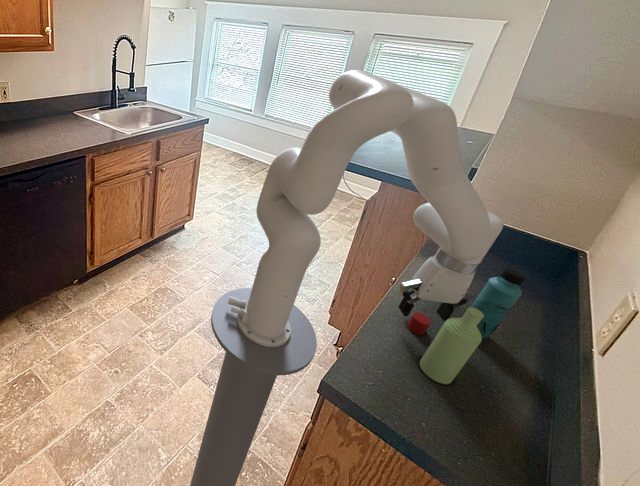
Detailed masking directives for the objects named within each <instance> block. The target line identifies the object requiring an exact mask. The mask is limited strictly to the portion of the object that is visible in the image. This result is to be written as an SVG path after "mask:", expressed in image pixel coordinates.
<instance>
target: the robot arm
mask: <svg viewBox="0 0 640 486" xmlns="http://www.w3.org/2000/svg"><path fill="white" fill-rule="evenodd" d="M328 90H329V91H328V100H329V103H330V105H331V107H332V108H333V110H332V111H330V112H329V113H327V114H326V115H323V116H322V118H320V119H319V120H318V121H316V123H315V124H314V125H313V126H312V127H311V129H310V130H309V132H308V134H307V135H306V137H305V140H304V142H303V145H302V146H301V147H289V148H287V149H285V150H283V151H282V152H280V153H279V154H278V155H276V157H274V159H273V160H272V162H271V164H270V165H269V167H268V170H267V173H266V176H265V180H264V182H263V185H262V188H261V192H260V194H259V197H258V201H257V205H256V217H257V220H258V222H259V224H260V226H261V228H262V230H263V232H264V235H265V237H266V238H267V240H268V248H267V250H266V251H265V252H263V254H262V255H261V258H260V259H259V262H258V266H257V268H256V272H255V277H254V279H253V284H252V287H251V288H252V290H251V294H250V297H248V299H247V301H246V300H243V301H241V300H238V299H237V298H234V297H231V296H230V297H229V301H228V304H230V305H233V306H232V308H231V312H234V313H238V316H237V323H238V326H239V328H240V330H241V331H242V333H243V334H244V335H245V336H246V337H247V338H248V339H250V340H251V341H253V342H255V343H256V344H259V345H262V346H266V347H278V346H281V345H283V344H285V343H286V342H287V341H288V339H289V337H290V334H291V326H290V323H289V321H288V319H289V316H290V313H291V310H292V307H293V305H295V302H296V300H297V296H298V294H299V291H300V289H301V285H302V282H303V279H304V277H305V274H306V273H307V270H308V268H309V266H310V264H311V263H312V261H313V260H314V258H315V257H316V256H317V254H318V252H319V250H320V248H321V243H322V242H321V241H322V240H321V234H320V232H319V229H318V227H317V225H316V223H315V222H314V220H313V219H311V216H313V215H314V216H315V215H319V214H321V213H323V212H324V211H326V209H327V208H328V207H329V206H330V204H331V202H332V201H333V199H334V197H335V195H336V192H337V190H338V188H339V186H340V183H341V181H342V179H343V176H344V175H345V173H346V169H347V168H348V165H349V163H350V162H351V159H352V158H353V156H354V155H355V153H356V152H357V150H358V149H359V148H361V147H362V146H363V145H364V144H366V143H367V142H369V141H370V140H372V139H375V138H377V137H379V136H381V135H385V134H387V133H390V132H391V133H393V134H394V135H397V137H399V138H400V140H401V144H402V149H403V153H404V157H405V161H406V167H407V172H408V176H409V179H410V182H411V183H412V185H413V186H414V187H415V189H416V190H417V191H418V193H419V194H420V195H421V196H422V197H423V199H425V200H426V201H427V202H426V203H423V204H421V205H419V206H418V207H417V208H416V209H415V211H414V213H413V216H412V217H413V218H412V219H413V223H414V224H415V226H416V228H418V230H419V231H421V232H422V233H423V234H424V235H425V236H427V238H429V240H431V241H433V242H434V243H435V244H436V245H437V246H438V247H439V248H438V249H437V251H436V252H435V254H434V256H433V255H432V256H430V257H428V258H427V260H425V261H424V262H423V264H422V265H421V266H420V267H419V268H418V269H417V271H416V273H415V274H414V276H413V277H412V278H411V280H408V281H403V282H400V283H399V291H400V293H401V295H402V296H403V298H402V299H401V301H400V303H399V305H398V309H399V310H400V312H401V313H402V315H403V316H404V317H409V316H410V313H411V312H412V311H413V309H414V308H415V304H414V303H416V302H418V301H422V300H423V301H427V302H428V301H430V302H434V303H435V302H436V303H440V305H439V307H438V308H437V309H436V311H435V312H436V313H437V315H438V316H439V317H440V318H441V320H442V321H443V322H445V321H446V320H447V319H450V318H451V316H452V315H453V313H454V312H455V310H459V309H460V307H461V306H464V305H465V304H467V303H468V302H469V301H470V300H471V299H473V298H475V296H476V295H475V294H474V293H473V292H472V291H471V290H469V288H470V286H471V284H472V282H473V280H474V276H475V275H476V274H475V273H476V270H477V268H478V267H479V265H481V264H482V263H483V259H484V257H485V256H486V255H487V253H488V252H489V250H490V249H491V247H492V246H493V244H494V243H495V241H496V239H497V238H498V237H499V235H500V234H501V232H502V231H503V228H504V223H503V220H501V218H500V217H499V216H498V215H496V214H494V213H492V212H490V211H488V210H487V208H486V206H485V204H484V202H483V200H482V199H481V197H480V196H479V193H478V192H477V190H476V189H475V187H474V185H473V183H472V181H471V180H470V178H469V176H467V174H466V172H465V171H464V170H465V169H464V167H463V161H462V153H461V144H460V135H459V129H458V122H457V121H458V120H457V117H456V113H455V111H454V110H453V108H452V107H451V106H450V105H449V104H447V103H445V102H444V101H441V100H440V99H437V98H434V97H432V96H430V95H426V94H425V93H421V92H419V91H416V90H414V89H412V88H411V89H410V88H408V87H405V86H402V85H400V84H398V83H396V82H394V81H391V80H389V79H386V78H384V77H381V76H378V75H375V74H373V73H370V72H368V71H365V70H361V69H351V70H348V71H345V72H343V73H340V75H338V76H337V77H336V78H335V79H334V80H333V81H332V83H331V85H330V87H329V89H328ZM309 215H310V216H309ZM414 294H415V295H414ZM412 295H413V296H412ZM411 296H412V297H411ZM234 306H237V307H240V309H239V308H237V307H234Z"/></svg>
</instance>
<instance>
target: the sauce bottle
mask: <svg viewBox="0 0 640 486" xmlns="http://www.w3.org/2000/svg"><path fill="white" fill-rule="evenodd" d="M483 317H484V314H483V313H482V312H481V311H480V310H478V309H476V308H473V307H471V306H469V307H467V308H466V311H465V312H464V314H463V315H462V316H461V317H449V319H447V320H446V321H444V323H443V325H442V326H441V327H440V328H439V330H438V331H437V334H436V335H435V336H434V339H433V340H432V341H431V343H430V344H429V346H428V347H427V350H426V351H425V352H424V354H423V356H422V357H421V359H420V360H419V367H420V369H421V371H423V373H424V374H425V375H426V376H427V377H428V378H430V379H431V380H433V381H434V382H436V383H439V384H443V385H449V384H452V382H453V381H454V380H455V378H456V377H457V375H459V373H460V371H461V370H462V369H463V367H464V366H465V365H466V363H467V362H468V360H469V359H470V357H471V356H472V355H473V354H474V352H475V351H476V349H477V348H478V347H479V346H480V345H481V343H482V340H483V337H482V336H481V333H480V331H479V329H478V328H477V325H478V323H479V322H480V321H481V319H483Z"/></svg>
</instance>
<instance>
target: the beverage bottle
mask: <svg viewBox="0 0 640 486" xmlns="http://www.w3.org/2000/svg"><path fill="white" fill-rule="evenodd" d="M525 279H526V275H525V273H524V272H522V271H521V270H519V269H517V268H515V267H510V266H506V267H505V268H503V270H502V271H501V272H500V273H499V276H494V277H490V278H488V281H487V282H486V284H485V285H484V286H483V288H482V289H481V290H480V293H479V294H478V295H477V297H476V298H475V299H474V300H473V302H472V303H471V304H470V306H469V307H473V308H476V309H478V310H480V311H481V312H482V313H483V314H484V317H483V319H481V321H480V322H479V323H478V325H477V328H478V329H479V331H480V333H481V336H482V338H489V337H490V336H493V334H494V333H495V331H496V330H497V329H498V327H499V326H500V325H501V324H502V322H503V319H504V318H505V317H506V316H507V315H508V313H509V312H510V311H511V310H512V309H513V308H514V304H516V302H517V301H518V300H519V298H520V297H521V296H522V294H523V293H522V290H521V289H520V287H519V286H522V285H523V283H524V281H525Z"/></svg>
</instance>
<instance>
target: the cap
mask: <svg viewBox="0 0 640 486" xmlns="http://www.w3.org/2000/svg"><path fill="white" fill-rule="evenodd" d="M431 323H432V321H431V318H430V317H429V316H427V315H426V314H424V313H422V312H418V311H415V312H413V313H412V315H411V317H410V318H409V320H408V322H407V325H406V326H407V328H408V330H410V331H411V332H412V333H414V334H416V335H419V336H422V335H424V334H425V333H426V332H427V330H428V329H429V327H430V326H431Z"/></svg>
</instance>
